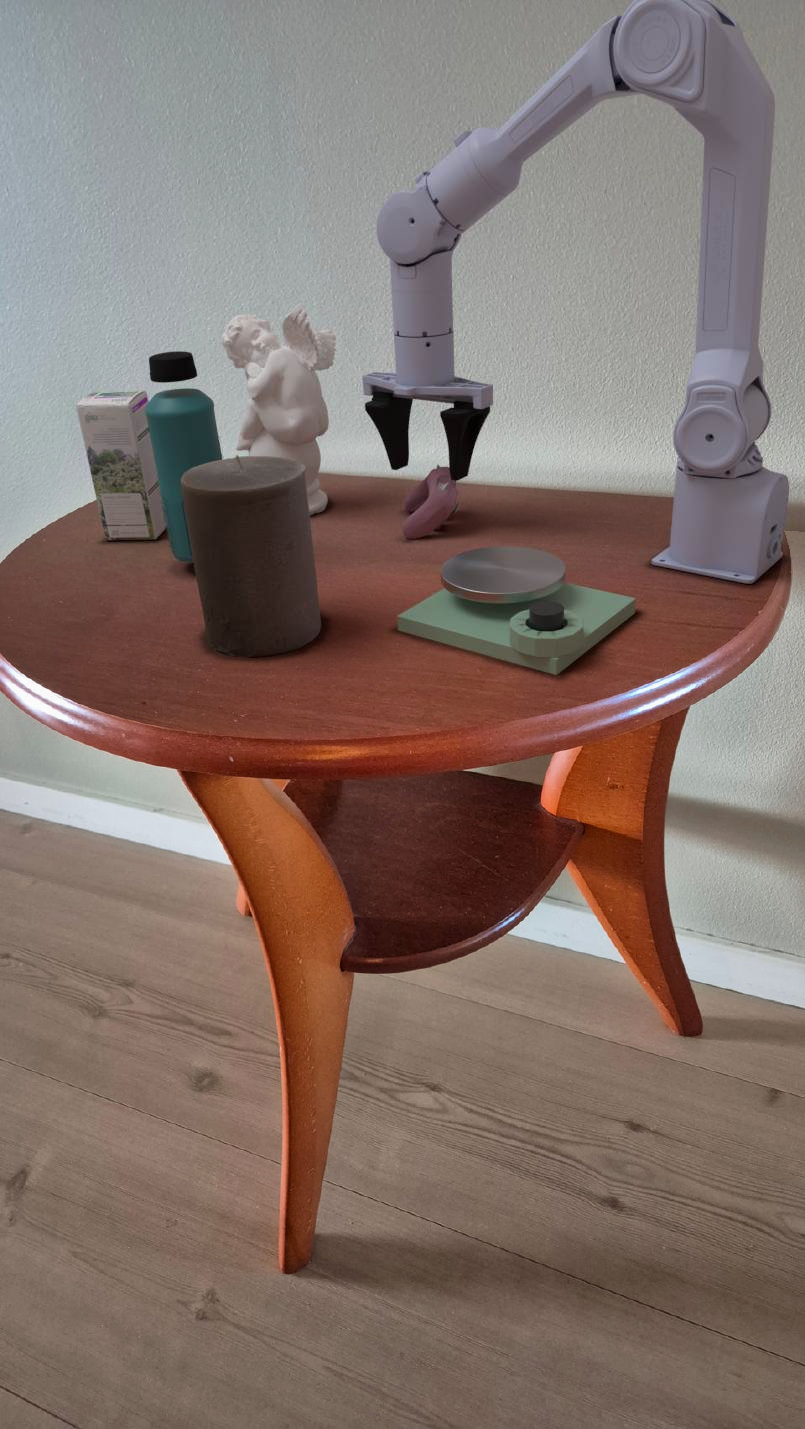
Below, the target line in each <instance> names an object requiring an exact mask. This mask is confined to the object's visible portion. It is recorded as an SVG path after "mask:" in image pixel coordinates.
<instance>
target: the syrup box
mask: <svg viewBox="0 0 805 1429" xmlns="http://www.w3.org/2000/svg"><path fill="white" fill-rule="evenodd" d="M149 401H150V400H149V396H148V392H147V391H146V390H143V389H141V390H123V391H122V390H118V391H94V392H92V393H89V394H87V395H86V396H84V397H83V398H82V399H80V400H79V401H78V402H77V403H76V404H75V406H76V407H75V409H76V412H77V413H76V414H77V418H78V422H79V426H80V431H81V435H82V440H83V444H84V449H85V453H86V458H87V462H88V468H89V472H90V476H91V481H92V485H93V490H94V494H95V499H96V504H97V508H98V513H99V517H100V521H101V524H102V525H101V526H102V530H103V536H104V539H105V541H147V540H149V541H150V540H151V541H152V540H157V539H158V537H159V536H161V534H162V533H163V532H164V531H166V529H165V527H167V525H166V521H165V520H164V519H165V516H164V515H165V514H164V511H163V510H162V509H163V508H162V507H163V504H162V503H161V502H162V501H161V500H162V499H161V494H160V493H159V492H160V489H159V483H158V476H157V470H156V464H155V459H154V454H153V449H152V443H151V438H150V433H149V427H148V422H147V417H146V414H145V407H146V406H147V404H148V402H149ZM160 499H161V500H160ZM163 514H164V515H163ZM163 517H164V518H163ZM164 522H165V523H164Z"/></svg>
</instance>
